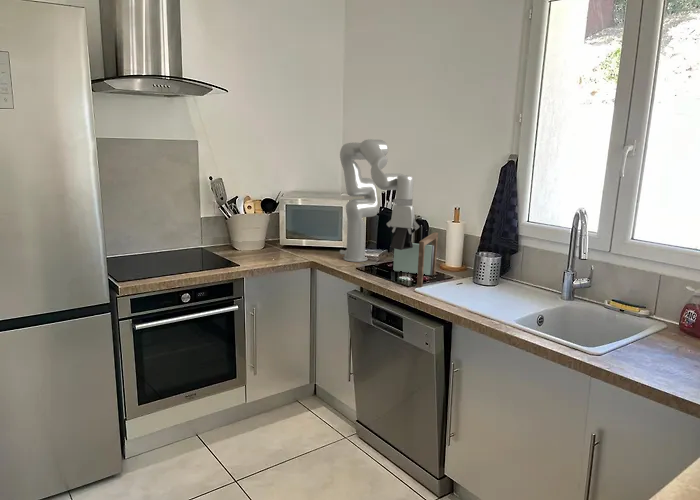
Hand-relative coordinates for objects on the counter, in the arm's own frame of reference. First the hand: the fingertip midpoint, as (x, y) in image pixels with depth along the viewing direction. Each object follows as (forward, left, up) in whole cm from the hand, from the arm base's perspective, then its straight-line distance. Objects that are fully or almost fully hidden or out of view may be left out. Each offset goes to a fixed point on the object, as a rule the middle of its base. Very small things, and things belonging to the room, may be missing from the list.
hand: (402, 241), depth 245 cm
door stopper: (0, 0, -3) cm, 3 cm away
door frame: (+13, -2, -16) cm, 21 cm away
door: (+4, +7, -16) cm, 18 cm away
